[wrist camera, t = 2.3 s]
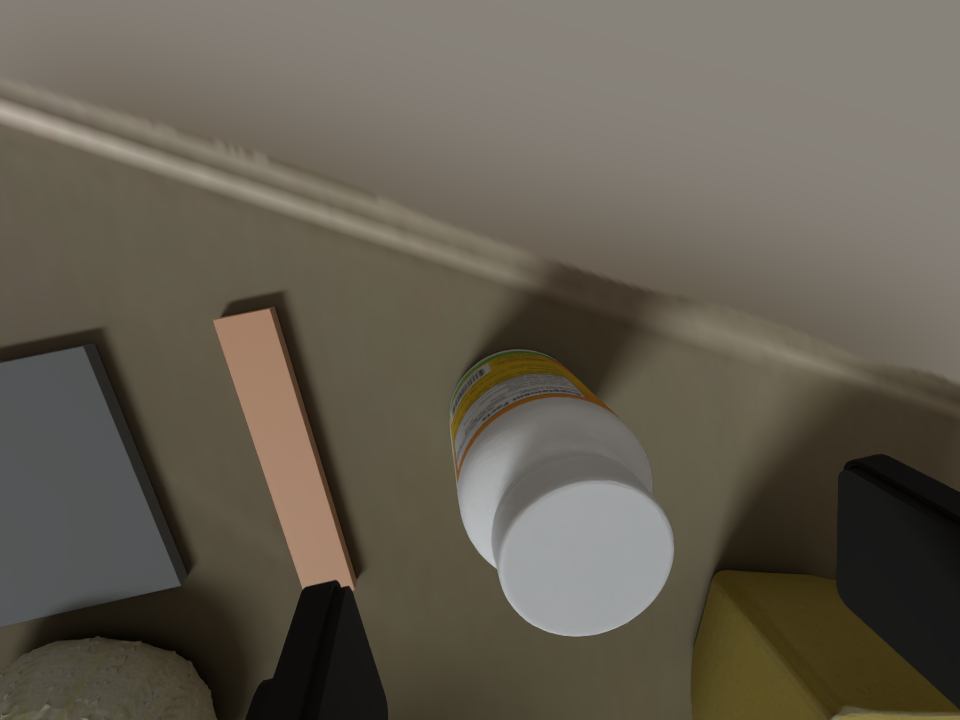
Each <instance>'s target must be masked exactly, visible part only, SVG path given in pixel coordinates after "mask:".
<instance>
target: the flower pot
mask: <svg viewBox="0 0 960 720" xmlns="http://www.w3.org/2000/svg"><path fill="white" fill-rule="evenodd" d="M691 703H692V715H693V720H960V710H959V709H958V708H957V707H956V706H955V705H954V704H953V703H952V702H951V701H950V700H948V699H947V698H946V697H945V696H944V695H943V694H942V693H941V692H940V691H939V690H937V689H936V688H935V687H934V686H933V685H932V684H931V683H930V682H929V681H928V680H927V679H925V678H924V677H923V676H922V675H921V674H920V673H919V672H918V671H917V670H916V669H914V668H913V667H912V666H911V665H910V664H909V663H908V662H907V661H906V660H905V659H903V658H902V657H901V656H900V655H899V654H898V653H897V652H896V651H895V650H894V649H893V648H891V647H890V646H889V645H888V644H887V643H886V642H885V641H884V640H883V639H882V638H880V637H879V636H878V635H877V634H876V633H875V632H874V631H873V630H872V629H871V628H870V627H868V626H867V625H866V624H865V623H864V622H863V621H862V620H861V619H860V618H859V617H857V616H856V615H855V614H854V613H853V612H852V611H851V610H850V609H849V608H848V607H847V606H846V605H845V604H844V603H843V601H842V600H841V598H840V596H839V594H838V591H837V586H836V580H832V579H827V578H823V577H818V576H813V575H807V574H782V573H764V572H748V571H735V570H722V571H719V572H717V573H716V574H715V575H714V577H713V579H712V582H711V586H710V589H709V593H708V597H707V600H706V604H705V608H704V612H703V616H702V620H701V624H700V627H699V631H698V634H697V638H696V642H695V645H694V649H693V653H692V667H691Z"/></svg>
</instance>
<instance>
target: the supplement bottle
mask: <svg viewBox="0 0 960 720" xmlns="http://www.w3.org/2000/svg"><path fill="white" fill-rule="evenodd" d="M449 422H450V434H451V442H452V450H453V458H454V466H455V474H456V483H457V492H458V501H459V507H460V512H461V516H462V520H463V523H464V527H465V529H466V531H467V534H468V536H469V538H470V540H471V542H472V543H473V545H474V546H475V547H476V549H477V550H478V551H479V553H480V554H481V555H482V556H483V557H484V558H485V559H486V560H487V561H488V562H489V563H490V564H491V565H493V566H494V567H495V568H497V570H498V575H499V579H500V582H501V586H502V589H503V591H504V594H505V595H506V597H507V599H508V601H509V602H510V604H511V605H512V606H513V608H514V609H515V610H516V611H517V612H518V613H519V615H520V616H522V617H523V618H524V619H525V620H526V621H528V622H529V623H531V624H532V625H534V626H536V627H538V628H540V629H542V630H545V631H547V632H551V633H555V634H559V635H565V636H588V635H595V634H599V633H603V632H606V631H609V630H612V629H615V628H617V627H619V626H621V625H623V624H625V623H627V622H629V621H630V620H632V619H633V618H635V617H636V616H637V615H639V614H640V613H641V612H642V611H643V610H645V609H646V608H647V607H648V606H649V605H650V604H651V603H652V602H653V600H654V599H655V598H656V597H657V595H658V594H659V593H660V591H661V589H662V588H663V586H664V584H665V582H666V580H667V578H668V575H669V573H670V570H671V566H672V563H673V555H674V539H673V533H672V528H671V525H670V523H669V520H668V518H667V516H666V513H665V512H664V510H663V508H662V507H661V505H660V504H659V503H658V502H657V500H656V499H655V498H654V497H653V495H652V475H651V470H650V465H649V462H648V458H647V456H646V453H645V451H644V449H643V447H642V445H641V444H640V442H639V440H638V439H637V438H636V436H635V435H634V434H633V432H632V431H631V430H630V429H629V428H628V427H627V426H626V424H625V423H624V422H623V421H622V420H621V419H620V418H619V417H618V416H617V415H616V414H615V413H613V412H612V411H611V410H610V409H609V408H608V407H607V406H606V405H605V404H604V403H603V402H602V401H601V400H600V399H599V398H598V397H596V396H595V395H594V394H593V393H592V392H591V391H590V390H589V389H588V388H587V387H586V386H585V385H584V384H583V383H582V382H581V381H580V380H579V379H578V378H577V377H575V376H574V375H573V374H572V373H571V372H570V371H569V370H568V369H567V368H566V367H565V366H563V365H562V364H561V363H560V362H558V361H557V360H555V359H553V358H552V357H550V356H548V355H546V354H543V353H540V352H537V351H532V350H525V349H512V350H505V351H501V352H498V353H495V354H492V355H490V356H488V357H486V358H484V359H482V360H481V361H479V362H478V363H477V364H475V365H474V366H473V367H472V368H471V369H469V371H468V372H467V373H466V374H465V375H464V376H463V377H462V379H461V380H460V382H459V383H458V385H457V387H456V389H455V391H454V394H453V397H452V400H451V405H450V412H449Z"/></svg>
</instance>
